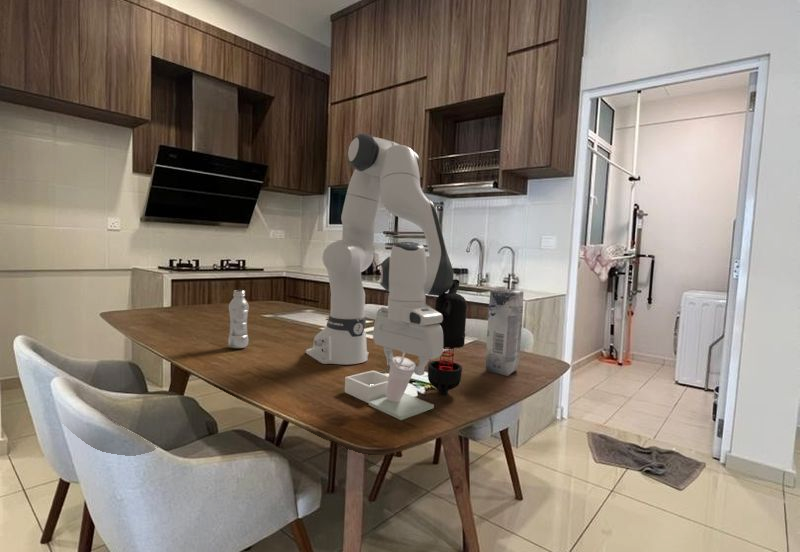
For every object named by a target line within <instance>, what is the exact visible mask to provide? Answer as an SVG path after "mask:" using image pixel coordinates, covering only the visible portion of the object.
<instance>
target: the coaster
mask: <svg viewBox="0 0 800 552" xmlns="http://www.w3.org/2000/svg"><path fill="white" fill-rule="evenodd" d="M368 406H370V407H372V408H374V409H375V410H378V411H380V412H382V413H385V414H387V415H389V416H391V417H394V418H396V419H398V420H399V421H403V420H406V419H408V418H411V417H413V416H416V415H420V414H423V413H424V412H427V411H429V410H433V409H434V408H435V405H434V404H433V403H430V402H427V401H425V400H423V399H420V398H417V397H415V396H413V395H410V394H408V393H405V392H404V394H403V396H402V399H401V401H400V402H396V403H395V402H391V401H389V400H388V399H387V398H386V397H383V398H380V399H376V400H373V401H370V402H369V403H368Z"/></svg>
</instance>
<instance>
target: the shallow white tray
mask: <svg viewBox="0 0 800 552" xmlns="http://www.w3.org/2000/svg"><path fill="white" fill-rule="evenodd" d="M388 379H389V375H387V374H385V373H382V372H379V371H377V370H369V371H368V370H367V371H365V372H364V371H363V372H361V373H357V374H356V373H355V374H352V375H349V376H345V378H344V393H346V394H348V395H350V396H353V398H354V397H355V398H356V399H359V400H361V401H363V402H365V403H368V404H369V402H370V401H373V400H376V399H380V398H383V397H386V394H387V387H388ZM370 384H374V385H371V386H370Z"/></svg>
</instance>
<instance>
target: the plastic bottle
mask: <svg viewBox="0 0 800 552" xmlns="http://www.w3.org/2000/svg"><path fill="white" fill-rule="evenodd" d="M232 296H233V298H232V299H231V301H230V302H229V304H228V312H229V321H230V323H229V335H228V339H227V343H228V346H229V348H231V349H238V350H239V349H244V348H246V347H248V345H249V335H248V314H249V308H250V305H249V303H248V301H247V299H246V298H245V296H246V290H245V289H244V290H243V289H235V290H233V294H232Z"/></svg>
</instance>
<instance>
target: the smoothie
mask: <svg viewBox="0 0 800 552" xmlns="http://www.w3.org/2000/svg"><path fill="white" fill-rule="evenodd" d="M405 354H406V352H402V355H401V356H394V357H393V358H392V359H391V360H390V363H389V364H390V366H389V371H388V376H389V379H388V387H387V394H386V398H387V399H388V400H389V401H391V402H395V403H396V402H400V401H401V399H402V396H403V394H404V393H405V391H406V390H407V388H408V386H409V383H410V382H411V379H412V377H413V374H415V367H416V366H417V365H416V363H415V361H413V360H411V359H409V358H407V357H405Z"/></svg>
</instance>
